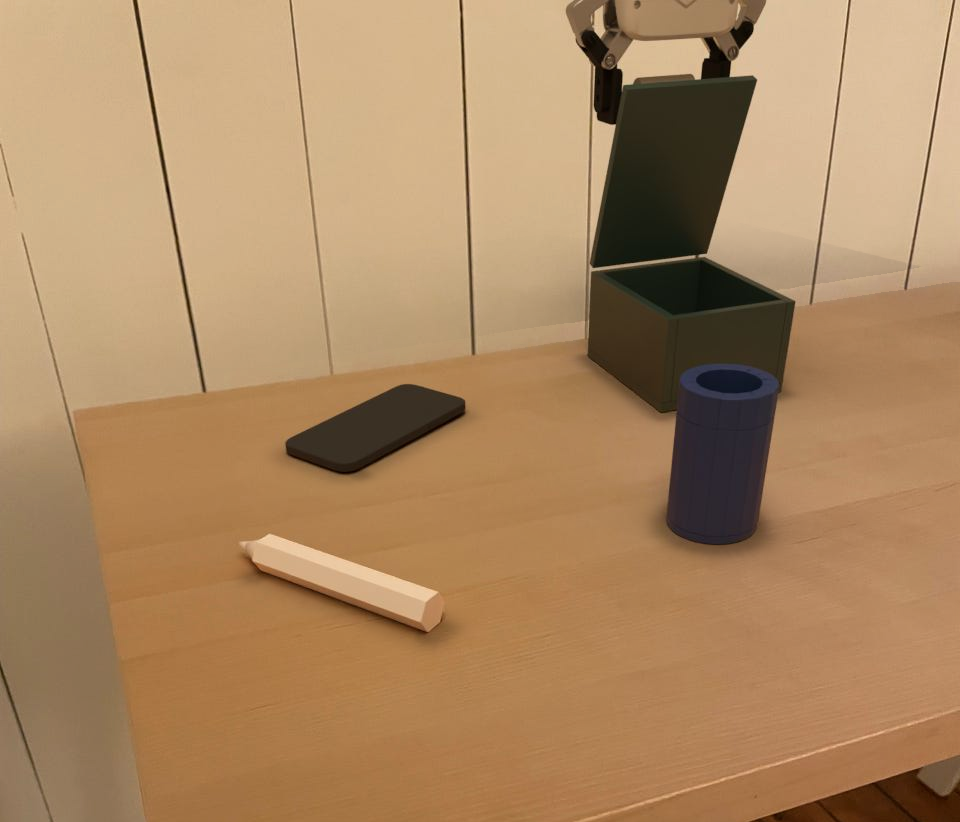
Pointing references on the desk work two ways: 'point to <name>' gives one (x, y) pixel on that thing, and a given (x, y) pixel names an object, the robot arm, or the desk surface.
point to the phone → (374, 427)
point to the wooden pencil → (347, 581)
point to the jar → (720, 452)
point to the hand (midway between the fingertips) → (660, 117)
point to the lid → (669, 167)
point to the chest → (683, 324)
